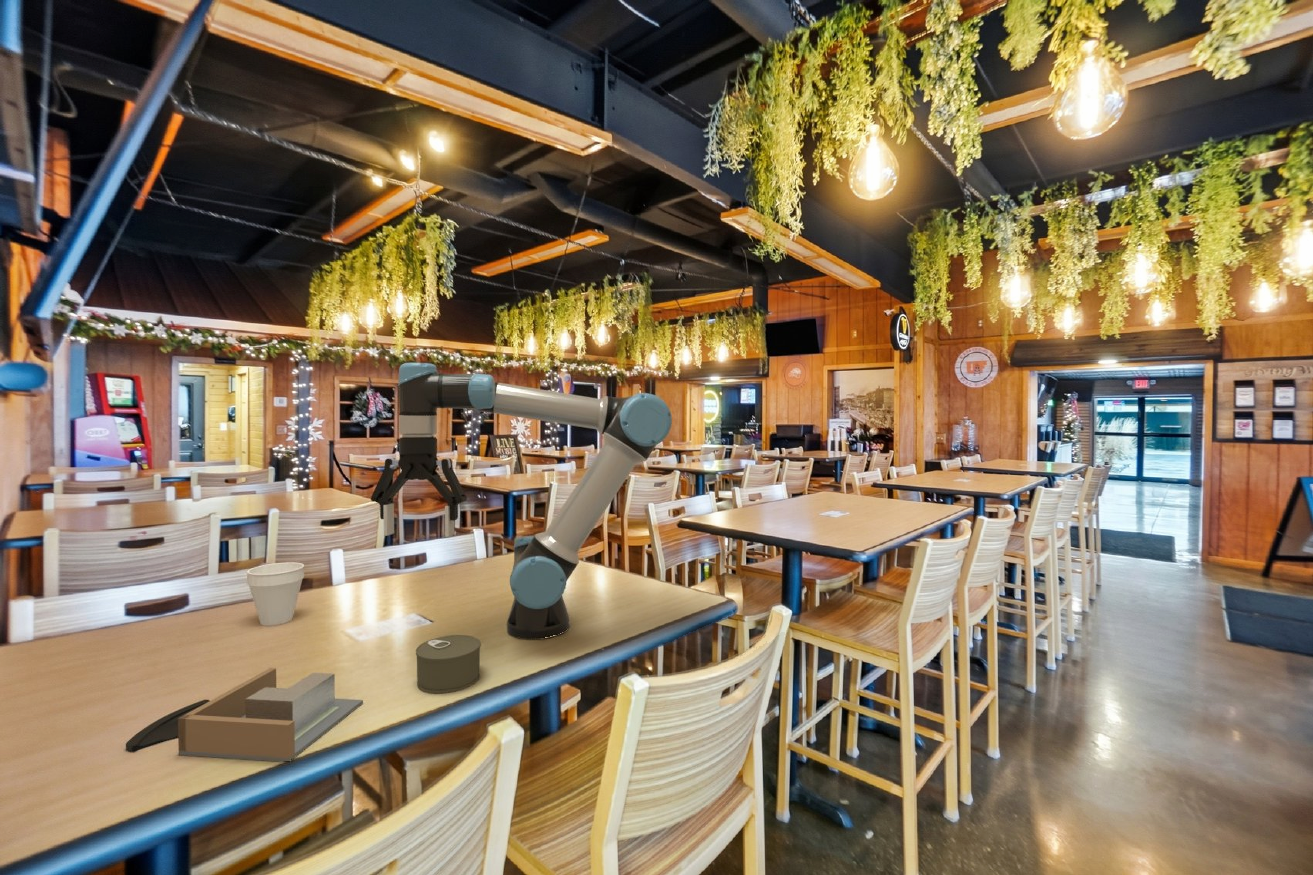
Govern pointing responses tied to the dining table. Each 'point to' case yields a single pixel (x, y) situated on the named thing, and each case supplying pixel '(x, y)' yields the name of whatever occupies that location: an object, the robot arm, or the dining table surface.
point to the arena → (250, 726)
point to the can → (448, 664)
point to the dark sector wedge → (160, 729)
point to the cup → (275, 591)
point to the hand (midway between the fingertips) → (419, 535)
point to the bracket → (295, 701)
